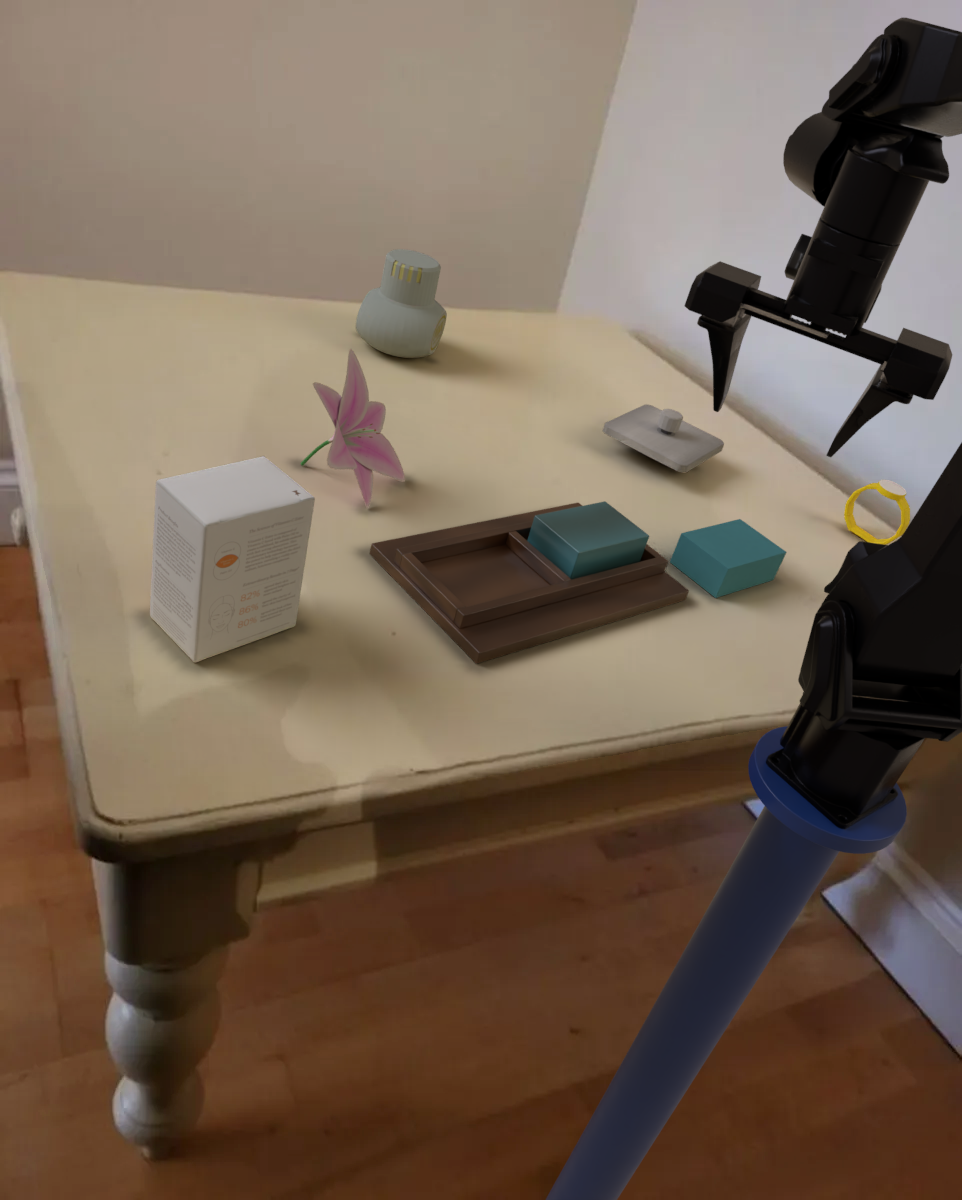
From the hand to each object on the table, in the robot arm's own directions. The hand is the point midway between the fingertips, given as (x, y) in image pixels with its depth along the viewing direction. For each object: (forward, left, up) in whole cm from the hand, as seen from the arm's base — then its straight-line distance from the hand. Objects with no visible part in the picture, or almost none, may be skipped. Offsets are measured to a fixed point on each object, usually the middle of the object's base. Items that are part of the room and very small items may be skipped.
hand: (772, 432), depth 79 cm
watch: (0, -23, -14) cm, 28 cm away
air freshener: (+47, +1, -14) cm, 49 cm away
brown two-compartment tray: (+6, +16, -14) cm, 22 cm away
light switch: (+19, -12, -14) cm, 27 cm away
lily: (+23, +23, -14) cm, 35 cm away
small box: (+9, +41, -14) cm, 44 cm away
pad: (+1, -2, -14) cm, 14 cm away
